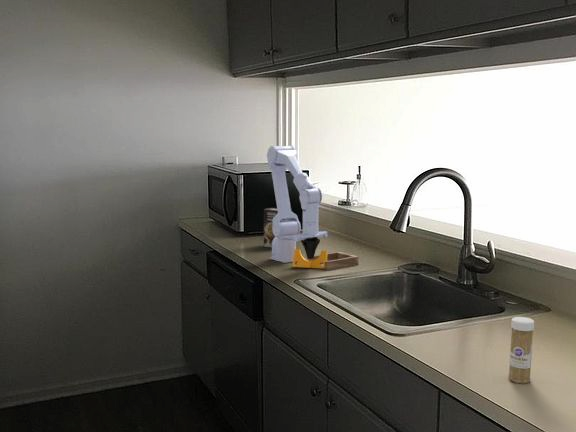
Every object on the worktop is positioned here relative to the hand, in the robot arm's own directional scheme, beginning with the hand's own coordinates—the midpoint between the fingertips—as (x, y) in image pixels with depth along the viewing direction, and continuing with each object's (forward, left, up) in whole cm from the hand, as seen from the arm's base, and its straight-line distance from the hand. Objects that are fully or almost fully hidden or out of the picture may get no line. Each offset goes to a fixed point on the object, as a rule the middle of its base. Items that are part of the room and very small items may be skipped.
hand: (310, 258), depth 246 cm
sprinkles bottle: (+107, -31, -4) cm, 111 cm away
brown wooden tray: (-1, +12, -4) cm, 12 cm away
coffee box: (-41, +15, -4) cm, 44 cm away
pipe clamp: (-1, +1, -4) cm, 4 cm away
